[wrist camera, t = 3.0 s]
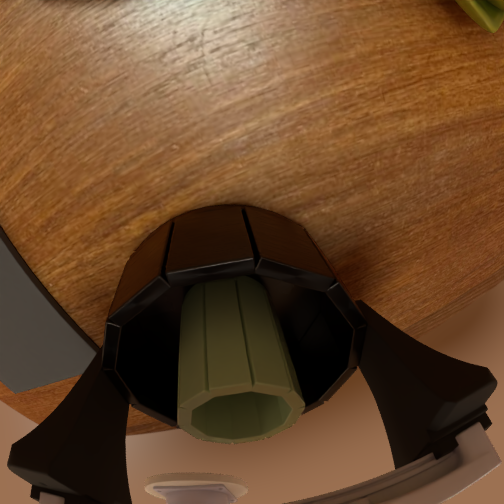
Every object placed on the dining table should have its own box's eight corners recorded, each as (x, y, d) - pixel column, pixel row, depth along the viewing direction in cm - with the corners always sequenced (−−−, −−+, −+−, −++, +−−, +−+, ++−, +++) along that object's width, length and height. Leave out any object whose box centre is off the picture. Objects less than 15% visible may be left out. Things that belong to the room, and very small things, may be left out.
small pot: (276, 333, 16) (304, 431, 11) (192, 347, 16) (194, 448, 10) (269, 264, 14) (306, 371, 8) (169, 282, 13) (156, 394, 8)
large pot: (325, 349, 18) (349, 408, 14) (161, 378, 17) (158, 440, 13) (328, 187, 13) (379, 233, 9) (93, 230, 12) (54, 291, 8)
